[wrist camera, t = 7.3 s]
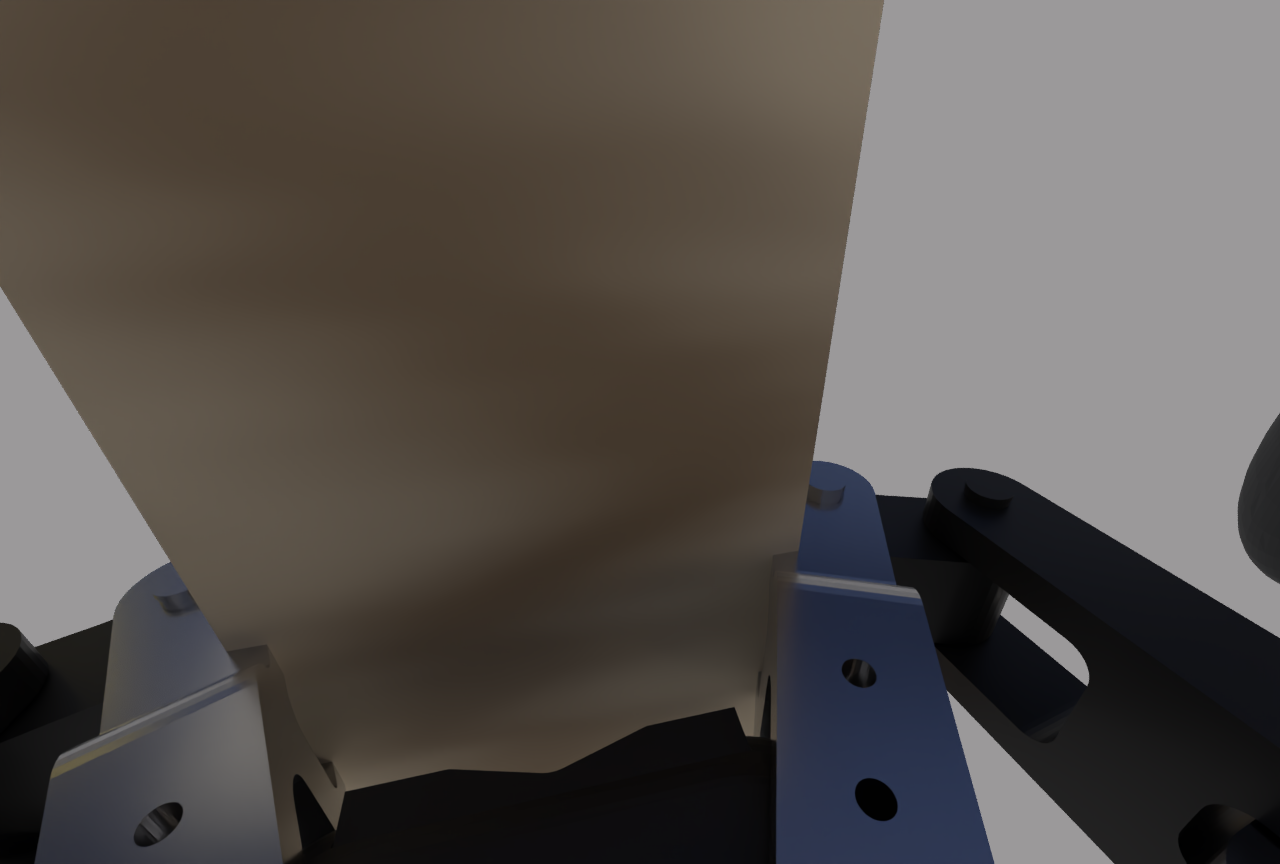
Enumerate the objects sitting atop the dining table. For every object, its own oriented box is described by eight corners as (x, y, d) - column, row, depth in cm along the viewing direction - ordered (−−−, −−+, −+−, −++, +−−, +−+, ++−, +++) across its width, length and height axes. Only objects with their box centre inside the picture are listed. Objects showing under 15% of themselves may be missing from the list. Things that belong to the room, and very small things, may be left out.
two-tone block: (904, -133, 3) (752, 846, 10) (667, -2, 8) (669, 597, 14) (-285, -171, 2) (403, 938, 9) (233, 1, 7) (437, 640, 13)
